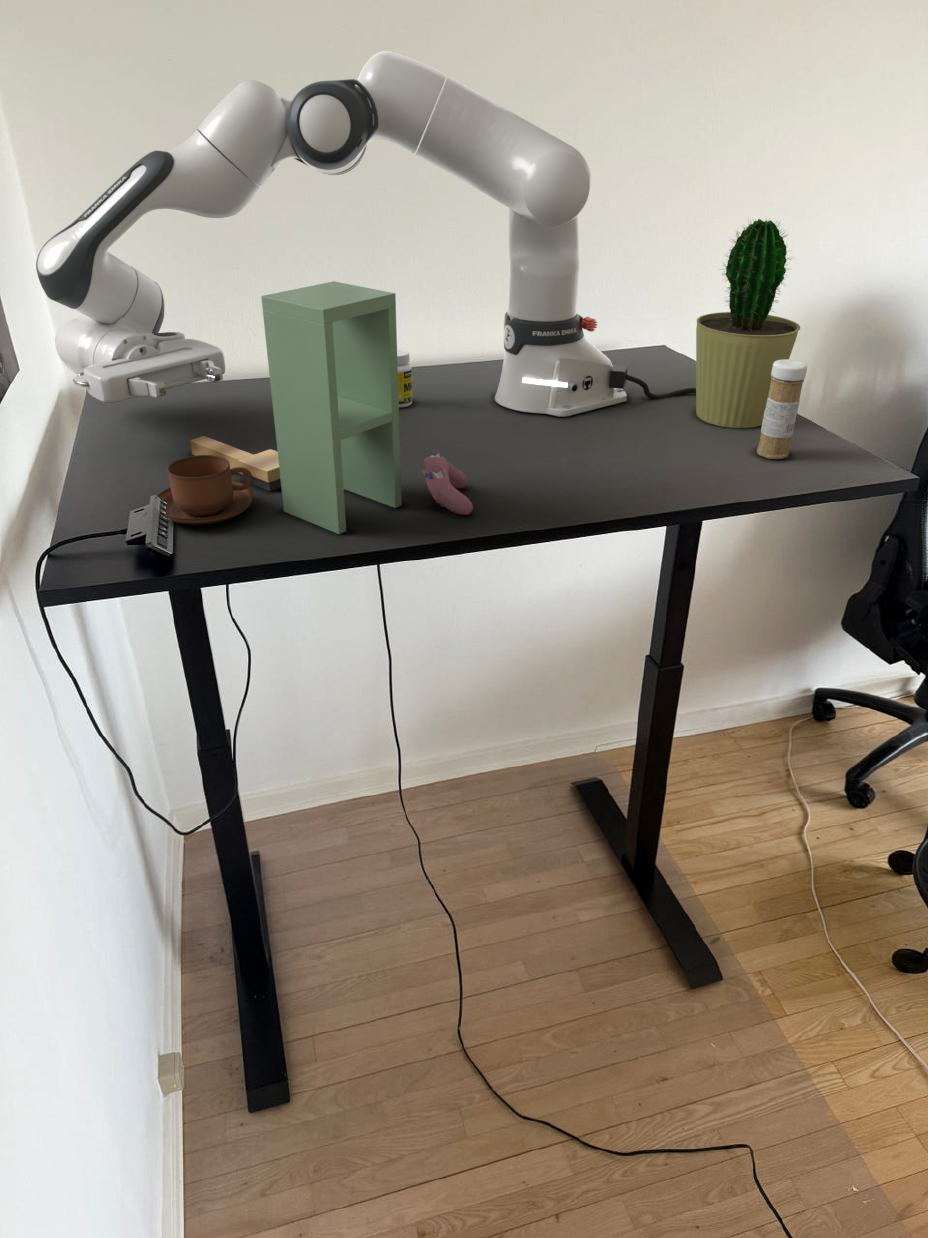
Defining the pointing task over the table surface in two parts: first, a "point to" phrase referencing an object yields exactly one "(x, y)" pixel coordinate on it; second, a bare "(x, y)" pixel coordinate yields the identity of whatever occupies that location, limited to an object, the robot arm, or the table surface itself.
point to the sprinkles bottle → (781, 408)
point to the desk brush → (243, 461)
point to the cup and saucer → (205, 490)
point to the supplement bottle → (404, 378)
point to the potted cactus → (744, 333)
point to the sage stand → (334, 398)
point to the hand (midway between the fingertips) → (190, 382)
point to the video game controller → (446, 485)
